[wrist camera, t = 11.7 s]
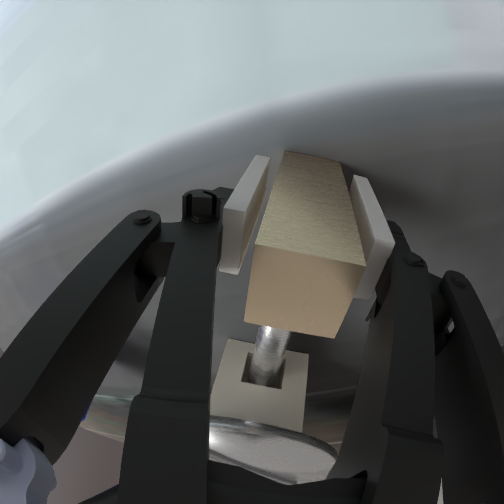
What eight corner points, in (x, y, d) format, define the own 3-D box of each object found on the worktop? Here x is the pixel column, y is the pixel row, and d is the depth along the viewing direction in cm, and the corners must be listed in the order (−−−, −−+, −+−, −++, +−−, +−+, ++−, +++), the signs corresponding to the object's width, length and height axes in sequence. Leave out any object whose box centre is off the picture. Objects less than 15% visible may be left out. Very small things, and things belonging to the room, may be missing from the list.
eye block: (228, 338, 27) (200, 426, 19) (308, 354, 26) (300, 445, 19) (224, 377, 31) (203, 451, 23) (292, 390, 30) (281, 466, 23)
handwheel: (128, 423, 22) (97, 497, 16) (242, 397, 15) (206, 539, 8) (246, 478, 27) (231, 539, 20) (370, 462, 19) (364, 547, 12)
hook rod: (284, 150, 17) (254, 244, 8) (339, 162, 16) (366, 266, 8) (242, 386, 31) (222, 467, 23) (271, 391, 31) (255, 474, 23)
